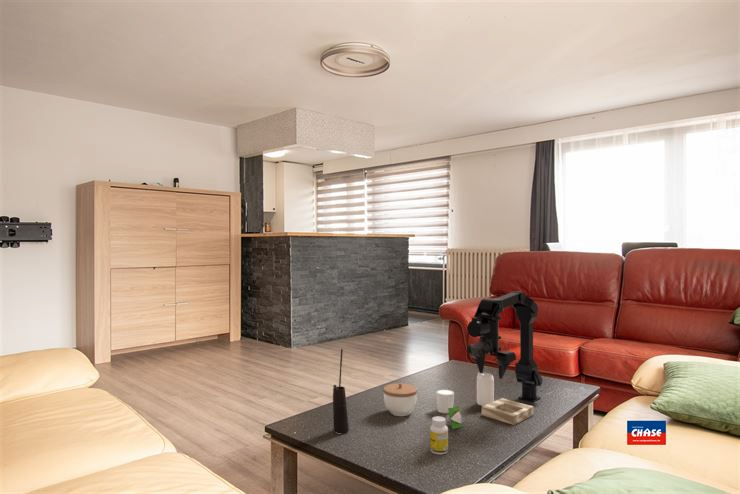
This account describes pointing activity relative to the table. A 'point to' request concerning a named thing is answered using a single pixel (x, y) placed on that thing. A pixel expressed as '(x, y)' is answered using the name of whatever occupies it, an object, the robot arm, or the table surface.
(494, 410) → the frame
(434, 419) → the supplement bottle
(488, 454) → the table surface
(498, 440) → the table surface
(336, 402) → the butter churn
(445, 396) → the white cup
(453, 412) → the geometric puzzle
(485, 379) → the can
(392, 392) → the lidded bowl
